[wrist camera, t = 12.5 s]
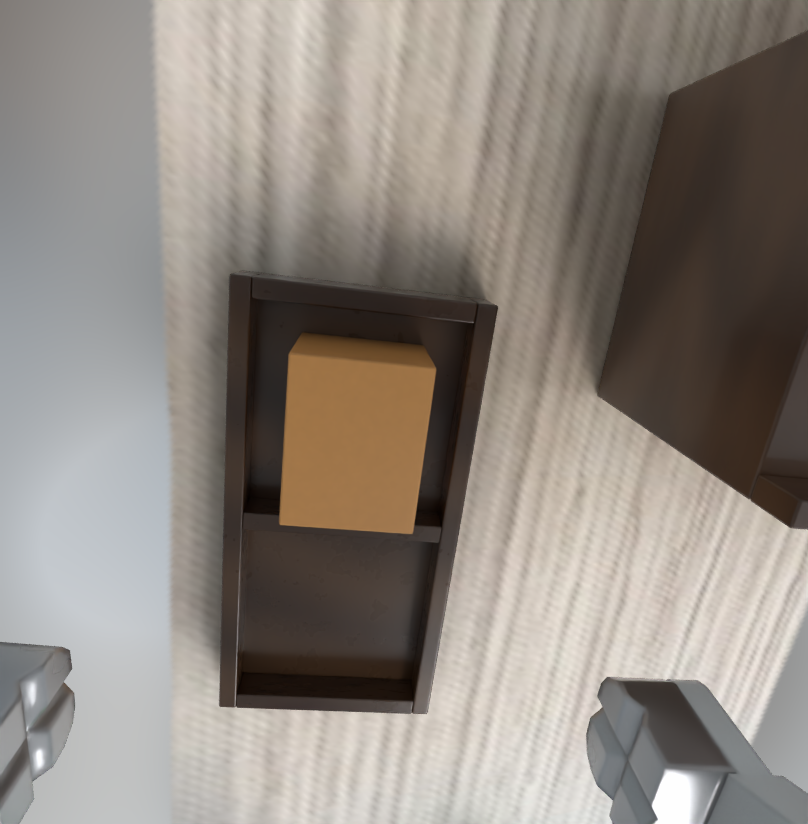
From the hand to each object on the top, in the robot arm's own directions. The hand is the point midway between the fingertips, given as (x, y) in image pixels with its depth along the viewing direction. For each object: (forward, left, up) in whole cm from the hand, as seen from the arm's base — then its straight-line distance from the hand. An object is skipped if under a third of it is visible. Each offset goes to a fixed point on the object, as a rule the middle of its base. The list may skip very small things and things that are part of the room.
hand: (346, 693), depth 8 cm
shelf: (+4, +3, -16) cm, 17 cm away
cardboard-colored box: (0, 0, -15) cm, 15 cm away
